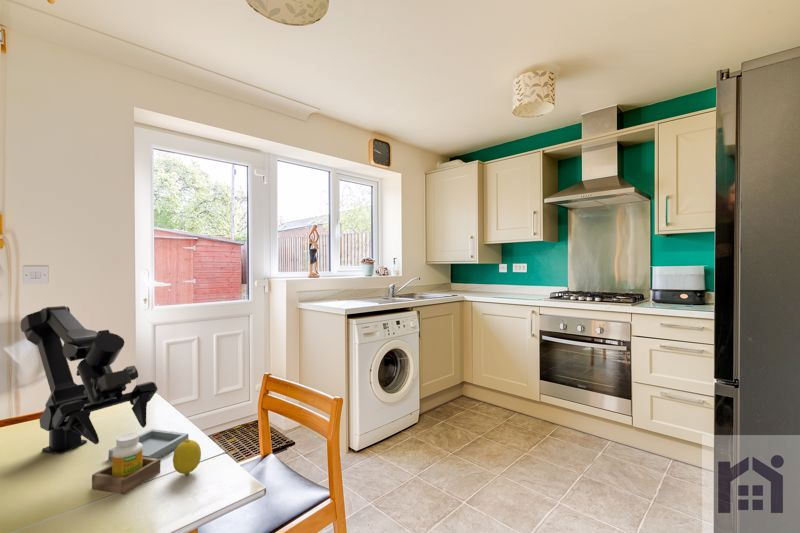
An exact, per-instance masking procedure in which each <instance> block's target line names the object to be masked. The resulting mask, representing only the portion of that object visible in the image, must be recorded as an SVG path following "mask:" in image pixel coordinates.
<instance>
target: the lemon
mask: <svg viewBox="0 0 800 533" xmlns="http://www.w3.org/2000/svg"><path fill="white" fill-rule="evenodd" d="M201 457H202V450H201V446H200V444H199V443H198V442H197V441H196V440H193V439H189V438H188V439H186V440H185V441H184V442H182V443H180V444H179V445H178V446H177V448H176V449H175V450H174V451H173V456H172V465H173V469H174V470H175V471H176V472H177V473H179V474H181V475H182V474H183V475H185V476H188V475H189V474H190V473H192V472H193V471H194V470H196V468H197V467H198V466H199V464H200V461H201V459H202V458H201Z"/></svg>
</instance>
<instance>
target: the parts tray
mask: <svg viewBox="0 0 800 533" xmlns="http://www.w3.org/2000/svg"><path fill="white" fill-rule="evenodd" d="M186 439H189V433H187V432H186V433H185V432H178V431H170V430H164V429H163V430H161V429H155V428H154V429H153V428H152V429H149V430H148V431H145V432H143V433H141V434H139V441H138V442H140V443H141V444H142V446H143V457H149V458H156V459H160V460H161V458H163V457H165V456H167V455H169V454H170V453H172V452H175V450H176V448H177V446H178V445H179V444H180V443H182V442H184V441H185V440H186ZM116 447H117V445H116V446H114V447H113V448H110V449H108V460H111V461H112V453H113V451H114V449H115V448H116Z"/></svg>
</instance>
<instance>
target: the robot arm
mask: <svg viewBox="0 0 800 533" xmlns="http://www.w3.org/2000/svg"><path fill="white" fill-rule="evenodd" d="M20 330H21V332H22V333H24V336H25V338H26V340H27V341H29V343H32V344H33V345H35V346H37V349H38V353H39V356H40V359H41V362H42V366H43V369H44V374H45V378H46V380H47V383H48V387H49V391H50V395H49V397H48V399H47V401H46V402H45V408H44V410H43V412H42V414H41V416H40V418H39V425H40V429H42V430H44V431H45V432H46V431H47V432H48V434H49V435H48V438H49V439H48V446H45V447H44V448H42V449H41V452H46V453H53V454H58V455H61V454H64V453H66V452H68V451H70V450H73V449H75V448H78V447H79V446H82V445H84V444H86V443H87V442H88V441H90V442H91V443H93V444H94V445H98V444H99V443H100V438H99V435H98V432H97V431H96V429H95V426H94V425H93V423H92V420H91V418H90V415H91V413H92V412H95V411H99V410H102V409H105V408H109V407H112V406H113V407H114V406H116V405H119V404H123V403H127V402H129V403H130V405H132V408H131V410H132V412H133V414H134V416H135V418H136V419H137V421H138V424H139V425H140V426H141V428H142V429H144V428H145V427H146V426H147V407H148V403H149V402H150V401H151V400H152V398H153V397H154V395H155V394H156V393H157V391H158V389H159V388H158V387H157V384H156V383H155V382H153V381H147V382H144V383H140V384H136V385H135V386H134V388H133V389H132V390H131V392H126V393H123V392H125V391H126V389H127V385H128V384H131V383H132V381H135V380H136V379H137V378H138V377H139V372H138V368H136V366H135V365H129V366H126V367H125V368H123V370H118V371H114V372H113V369H112V366H111V365H112V364H114V362H115V361H116V359H117V358H118V356H119V354H120V352H121V351H122V349H123V348H124V346H125V339H124V338H123V337H121V336H120V335H118V334H116V333H112V332H110V330H109V329H104V330H102V329H101V330H98V331H96V330H92V329H87V328H85V327H84V326H83V324H82V323H80V321H79V320H78V318H76V317H75V316H74V314H72V313H71V310H70V308H69V306H65V305H61V306H46V307H44V308H42V309H40V310H38V311H36V312H35V311H34V312H31V313H30V314H29V313H28V314H27V315H26V316H24V317H23V318H22V319H21V320H20ZM62 342H63V343H62ZM68 361H69V362H75V361H80V362H79V363H78V365H77V367H76V369H77V370H76V374H75V375H76V376H80V379H81V382H82V383H81V384H77V383H75V382H74V378H73V374H72V372H71V368H70V365H69V362H68ZM82 437H84V438H85V439H82Z"/></svg>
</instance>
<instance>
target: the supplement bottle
mask: <svg viewBox="0 0 800 533" xmlns="http://www.w3.org/2000/svg"><path fill="white" fill-rule="evenodd" d="M139 435H140V433H138V432H129V433H125V434H122V435H119V436H118V437H117V438H116V443H115V444H116V446H117V447H116V446H115V447H116V448H115V449H114V451H113V453H112V460H111V463H112V464H111V465H112V476H117V477H123V478H125V477H127V476H129V475H131V474H132V473H134V472H136V471H137V470H139V469H141V468H142V457H143V446H142V444H141V443H140V442H138V441H139Z"/></svg>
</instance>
